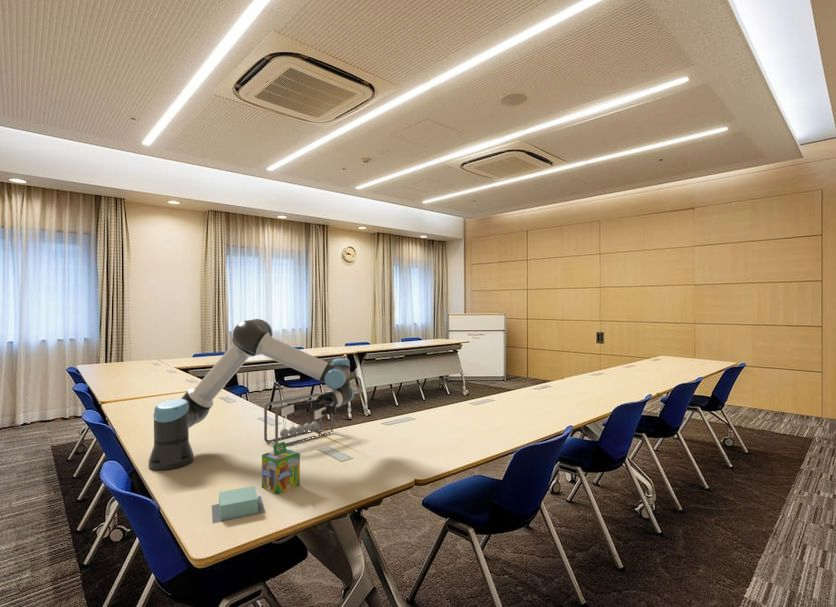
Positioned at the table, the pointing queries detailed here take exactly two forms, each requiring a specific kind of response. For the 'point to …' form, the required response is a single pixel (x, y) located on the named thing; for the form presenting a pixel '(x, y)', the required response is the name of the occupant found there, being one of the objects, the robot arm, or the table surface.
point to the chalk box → (280, 469)
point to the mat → (217, 517)
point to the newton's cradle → (293, 430)
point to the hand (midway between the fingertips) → (298, 413)
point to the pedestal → (238, 502)
